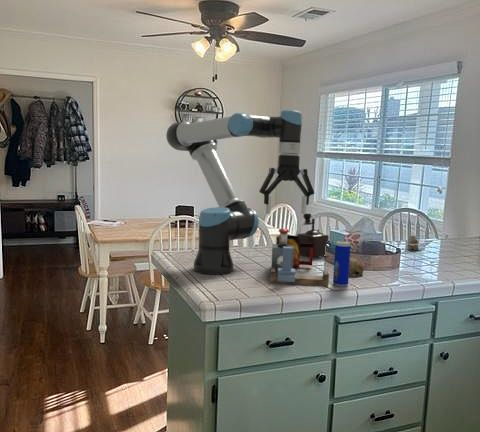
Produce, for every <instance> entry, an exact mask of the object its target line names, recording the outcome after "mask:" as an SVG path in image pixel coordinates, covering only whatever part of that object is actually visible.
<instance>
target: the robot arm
mask: <svg viewBox="0 0 480 432" xmlns="http://www.w3.org/2000/svg"><path fill="white" fill-rule="evenodd" d="M302 119H303V115H302V112H301V111H299V110H294V109H293V110H292V109H286V110H281V111H280V115H279V116H265V115H257V114H250V113H245V112H239V113H238V112H236V113H234V114H232V115H231V116H225V117H220V118H213V119H209V120H208V119H207V120H202V121H196V122H189V121H177V122H174V123H172V124H171V125H170V126H169V127H168V128H167V131H166V141H167V143H168V145H169V146H170V147H171V148H173V149H174V150H177V151H181V152H182V151H184V152H189V155H190V156H191V159H192V160H193V161H196V162H197V164H198V165H199V167H200V170H201V172H202V174H203V176H204V178H205V180H206V182H207V185H208V186H209V189H210V190H211V193H212V195H213V197H214V200H215V202H216V203H217V205H218V206H217V207H209V208H205V209H203V210H201V212H200V213H199V220H198V251H197V253H196V256H195V259H194V262H193V271H194V272H196V273H200V274H205V275H223V274H229V273H232V272H234V262H233V259H232V255H231V251H230V245H231V244H230V243H231V242H230V241H234V240H241V239H242V240H243V239H247V238H250V237H253V236H254V235H255V234H256V232H257V231H258V227H259V223H260V220H259V215H258V214H257V212H256V211H255V210H254V209H252V208H250V207H248V206H247V204H246V202H245V200H243V199H240V198H239V197H238V194H237V192H236V190H235V188H234V187H233V184H232V181H230V180H231V179H230V178H229V176H228V174H227V172H226V170H225V168H224V165H223V164H222V162H221V160H220V158H219V155H218V154H217V149H218V140H224V139H230V138H240V137H255V138H257V137H258V138H262V139H263V138H264V139H266V138H270V139H271V138H278V139H279V143H278V153H279V155H278V159H277V160H278V161H277V162H278V163H277V168H275V167H269V169H268V173H267V176H266V178H265V179H264V181H263V183H262V185H261V186H260V188H259V191H258V192H259V193H260V194H262V195H263V197H264V198H263V204H264V205H265V206H266V207H265V213H266V214H267V215H271V208H272V206H271V204H272V195H271V193H272V192H273V191H274V189H276V188H277V187H278V185H279V184H280V183H281V182H282V181H284V182H287V181H288V182H289V181H290V182H294V183H295V184H296V186H297V187H298V188H299V190H300V191H301V192H302V194H303V195H302V196H301V206H300V207H301V209H300V210H301V211H300V214H302V215H304V214H306V213H307V206H308V205H309V202H310V197H311V196H312V195H314V194H315V190H314V187H313V186H312V183H311V180H310V178H309V175H308V169H307V168H301V169H300V160H301V159H300V154H301V137H302V126H303V123H302V122H303V121H302ZM276 173H277V174H278V175H277V176H276V177H275V179H274V180H273V182H272V183H271V181H272V179H273V177H274V175H276ZM299 174H300V175H301V176H302V179H303V182H304V184H303V182H302V181H301V180H300V178H299Z"/></svg>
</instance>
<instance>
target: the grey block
mask: <svg viewBox="0 0 480 432" xmlns="http://www.w3.org/2000/svg"><path fill="white" fill-rule="evenodd" d="M287 247H292V258H291V269H293V259H294V245H287ZM271 249H272V251H271V267H270V269H271V268H275V273H278V268H282V264H283V247H279V244H276V243H272V247H271Z"/></svg>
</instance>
